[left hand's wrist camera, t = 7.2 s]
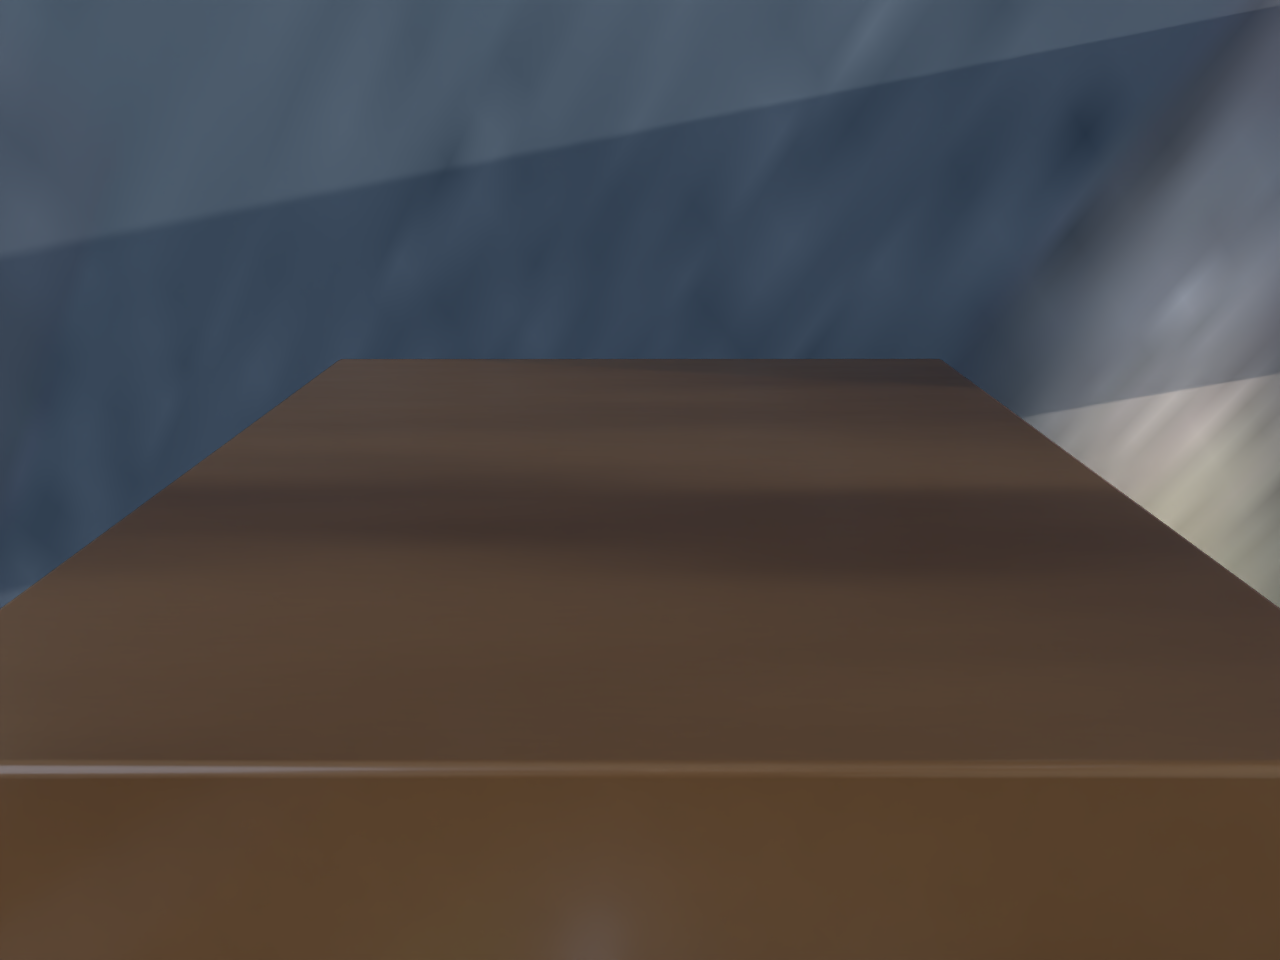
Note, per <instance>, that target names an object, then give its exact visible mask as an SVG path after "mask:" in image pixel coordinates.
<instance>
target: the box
mask: <svg viewBox="0 0 1280 960" xmlns="http://www.w3.org/2000/svg"><path fill="white" fill-rule="evenodd" d="M0 960H1280V608H1279V607H1277V606H1276V605H1275V604H1273V603H1272V602H1270V601H1269V600H1268V599H1266V598H1265V597H1264V596H1262V595H1261V594H1260V593H1258V592H1257V591H1256V590H1254V589H1253V588H1251V587H1250V586H1249V585H1247V584H1246V583H1245V582H1243V581H1242V580H1241V579H1239V578H1238V577H1236V576H1235V575H1234V574H1232V573H1231V572H1230V571H1228V570H1227V569H1226V568H1224V567H1223V566H1221V565H1220V564H1219V563H1217V562H1216V561H1215V560H1213V559H1212V558H1211V557H1209V556H1208V555H1207V554H1205V553H1204V552H1202V551H1201V550H1200V549H1198V548H1197V547H1196V546H1194V545H1193V544H1192V543H1190V542H1189V541H1187V540H1186V539H1185V538H1183V537H1182V536H1181V535H1179V534H1178V533H1177V532H1175V531H1174V530H1173V529H1171V528H1170V527H1168V526H1167V525H1166V524H1164V523H1163V522H1162V521H1160V520H1159V519H1158V518H1156V517H1155V516H1153V515H1152V514H1151V513H1149V512H1148V511H1147V510H1145V509H1144V508H1143V507H1141V506H1140V505H1138V504H1137V503H1136V502H1134V501H1133V500H1132V499H1130V498H1129V497H1128V496H1126V495H1125V494H1124V493H1122V492H1121V491H1119V490H1118V489H1117V488H1115V487H1114V486H1113V485H1111V484H1110V483H1109V482H1107V481H1106V480H1104V479H1103V478H1102V477H1100V476H1099V475H1098V474H1096V473H1095V472H1094V471H1092V470H1091V469H1089V468H1088V467H1087V466H1085V465H1084V464H1083V463H1081V462H1080V461H1079V460H1077V459H1076V458H1075V457H1073V456H1072V455H1070V454H1069V453H1068V452H1066V451H1065V450H1064V449H1062V448H1061V447H1060V446H1058V445H1057V444H1055V443H1054V442H1053V441H1051V440H1050V439H1049V438H1047V437H1046V436H1045V435H1043V434H1042V433H1040V432H1039V431H1038V430H1036V429H1035V428H1034V427H1032V426H1031V425H1030V424H1028V423H1027V422H1026V421H1024V420H1023V419H1021V418H1020V417H1019V416H1017V415H1016V414H1015V413H1013V412H1012V411H1011V410H1009V409H1008V408H1006V407H1005V406H1004V405H1002V404H1001V403H1000V402H998V401H997V400H996V399H994V398H993V397H991V396H990V395H989V394H987V393H986V392H985V391H983V390H982V389H981V388H979V387H978V386H977V385H975V384H974V383H972V382H971V381H970V380H968V379H967V378H966V377H964V376H963V375H962V374H960V373H959V372H957V371H956V370H955V369H953V368H952V367H951V366H949V365H948V364H947V363H945V362H944V361H943V360H940V359H341V360H339V361H337V362H336V363H334V364H333V365H332V366H330V367H329V368H328V369H326V370H325V371H323V372H322V373H321V374H319V375H318V376H317V377H315V378H314V379H313V380H311V381H310V382H309V383H307V384H306V385H304V386H303V387H302V388H300V389H299V390H298V391H296V392H295V393H294V394H292V395H291V396H289V397H288V398H287V399H285V400H284V401H283V402H281V403H280V404H279V405H277V406H276V407H274V408H273V409H272V410H270V411H269V412H268V413H266V414H265V415H264V416H262V417H261V418H259V419H258V420H257V421H255V422H254V423H253V424H251V425H250V426H249V427H247V428H246V429H245V430H243V431H242V432H240V433H239V434H238V435H236V436H235V437H234V438H232V439H231V440H230V441H228V442H227V443H225V444H224V445H223V446H221V447H220V448H219V449H217V450H216V451H215V452H213V453H212V454H210V455H209V456H208V457H206V458H205V459H204V460H202V461H201V462H200V463H198V464H197V465H195V466H194V467H193V468H191V469H190V470H189V471H187V472H186V473H185V474H183V475H182V476H181V477H179V478H178V479H176V480H175V481H174V482H172V483H171V484H170V485H168V486H167V487H166V488H164V489H163V490H161V491H160V492H159V493H157V494H156V495H155V496H153V497H152V498H151V499H149V500H148V501H146V502H145V503H144V504H142V505H141V506H140V507H138V508H137V509H136V510H134V511H133V512H131V513H130V514H129V515H127V516H126V517H125V518H123V519H122V520H121V521H119V522H118V523H117V524H115V525H114V526H112V527H111V528H110V529H108V530H107V531H106V532H104V533H103V534H102V535H100V536H99V537H97V538H96V539H95V540H93V541H92V542H91V543H89V544H88V545H87V546H85V547H84V548H82V549H81V550H80V551H78V552H77V553H76V554H74V555H73V556H72V557H70V558H69V559H67V560H66V561H65V562H63V563H62V564H61V565H59V566H58V567H57V568H55V569H54V570H53V571H51V572H50V573H48V574H47V575H46V576H44V577H43V578H42V579H40V580H39V581H38V582H36V583H35V584H33V585H32V586H31V587H29V588H28V589H27V590H25V591H24V592H23V593H21V594H20V595H18V596H17V597H16V598H14V599H13V600H12V601H10V602H9V603H8V604H6V605H5V606H3V607H2V608H1V609H0Z"/></svg>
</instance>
